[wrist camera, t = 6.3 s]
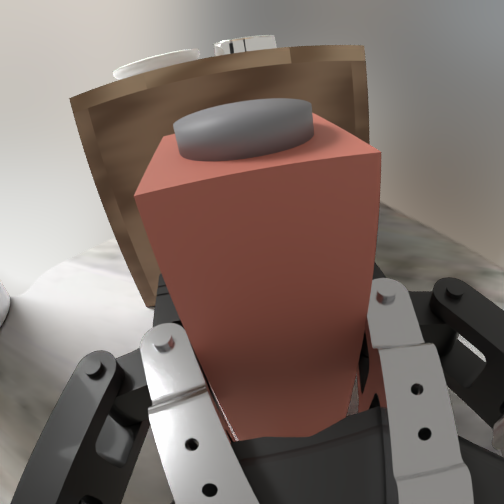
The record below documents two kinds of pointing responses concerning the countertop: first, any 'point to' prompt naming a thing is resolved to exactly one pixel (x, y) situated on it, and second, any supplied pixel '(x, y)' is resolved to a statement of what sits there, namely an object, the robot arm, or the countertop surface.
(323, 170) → the spice tin
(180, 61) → the jar
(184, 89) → the slot box
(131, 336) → the countertop surface
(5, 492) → the countertop surface
